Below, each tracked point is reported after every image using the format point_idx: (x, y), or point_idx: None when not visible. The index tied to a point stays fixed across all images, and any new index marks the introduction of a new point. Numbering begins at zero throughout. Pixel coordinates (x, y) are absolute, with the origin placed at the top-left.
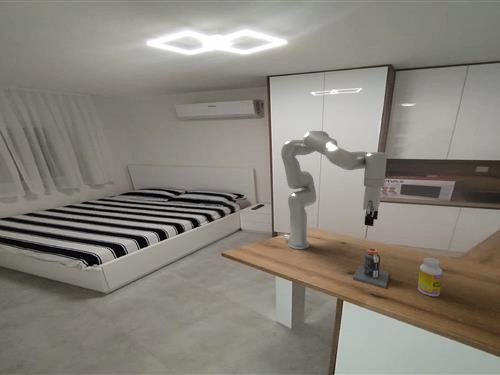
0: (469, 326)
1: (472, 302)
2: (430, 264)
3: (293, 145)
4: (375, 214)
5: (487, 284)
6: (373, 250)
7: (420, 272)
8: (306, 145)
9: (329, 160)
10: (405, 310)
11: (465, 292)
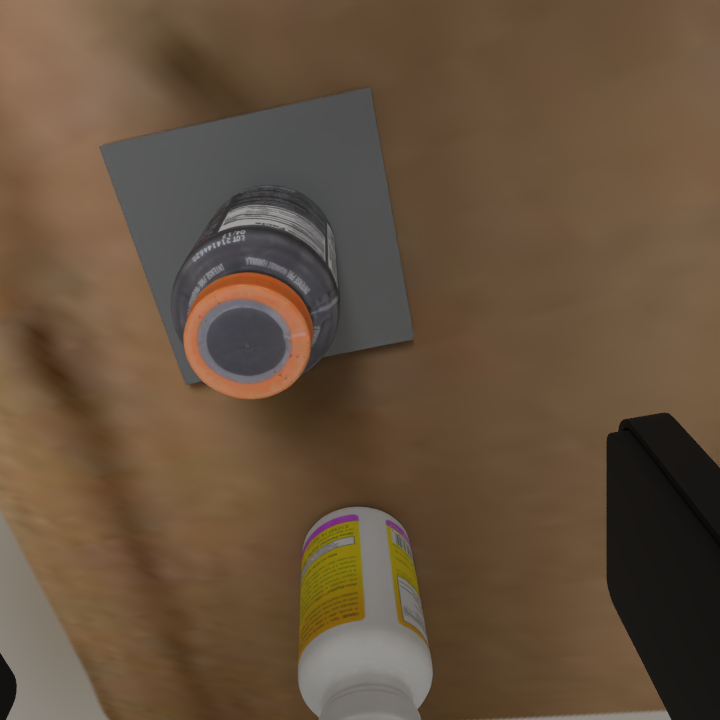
0: (182, 685)
1: None
2: None
3: None
4: (682, 706)
5: (642, 693)
6: (230, 363)
7: (326, 611)
8: None
9: None
10: (57, 510)
11: (483, 648)
